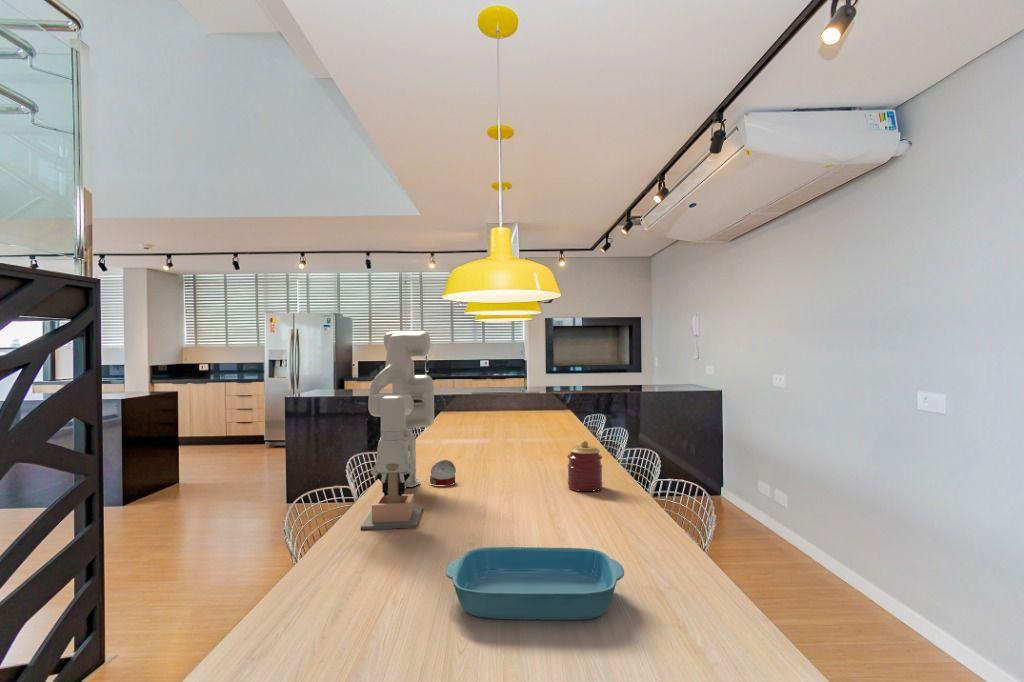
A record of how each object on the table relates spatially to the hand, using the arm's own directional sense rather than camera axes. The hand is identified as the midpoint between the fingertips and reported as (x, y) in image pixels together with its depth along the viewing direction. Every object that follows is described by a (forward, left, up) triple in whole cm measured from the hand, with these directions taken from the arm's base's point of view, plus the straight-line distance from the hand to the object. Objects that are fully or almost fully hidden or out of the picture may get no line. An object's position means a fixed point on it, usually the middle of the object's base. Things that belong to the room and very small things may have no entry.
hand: (393, 494), depth 159 cm
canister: (-30, +66, -8) cm, 73 cm away
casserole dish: (+54, +38, -8) cm, 67 cm away
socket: (0, 0, -8) cm, 8 cm away
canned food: (-42, +12, -8) cm, 44 cm away
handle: (0, 0, -5) cm, 5 cm away
